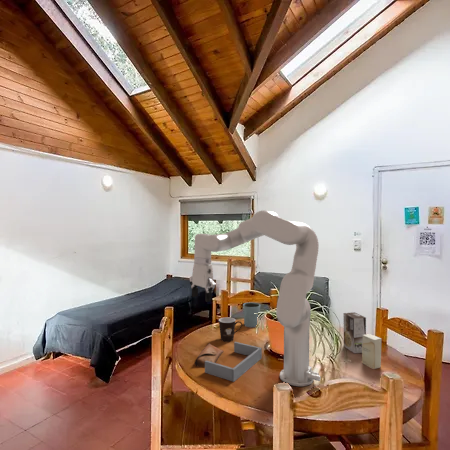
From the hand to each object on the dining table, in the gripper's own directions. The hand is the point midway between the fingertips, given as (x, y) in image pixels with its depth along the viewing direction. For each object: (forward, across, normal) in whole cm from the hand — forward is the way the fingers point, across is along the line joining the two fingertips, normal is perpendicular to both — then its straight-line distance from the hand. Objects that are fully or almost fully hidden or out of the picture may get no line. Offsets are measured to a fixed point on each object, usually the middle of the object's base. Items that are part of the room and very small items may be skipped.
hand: (201, 298), depth 139 cm
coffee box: (+23, -46, -56) cm, 76 cm away
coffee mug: (+26, +3, -22) cm, 34 cm away
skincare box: (+23, -58, -45) cm, 77 cm away
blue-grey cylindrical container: (+26, +10, -47) cm, 55 cm away
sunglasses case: (+26, -6, -1) cm, 27 cm away
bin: (+25, -18, -4) cm, 31 cm away
